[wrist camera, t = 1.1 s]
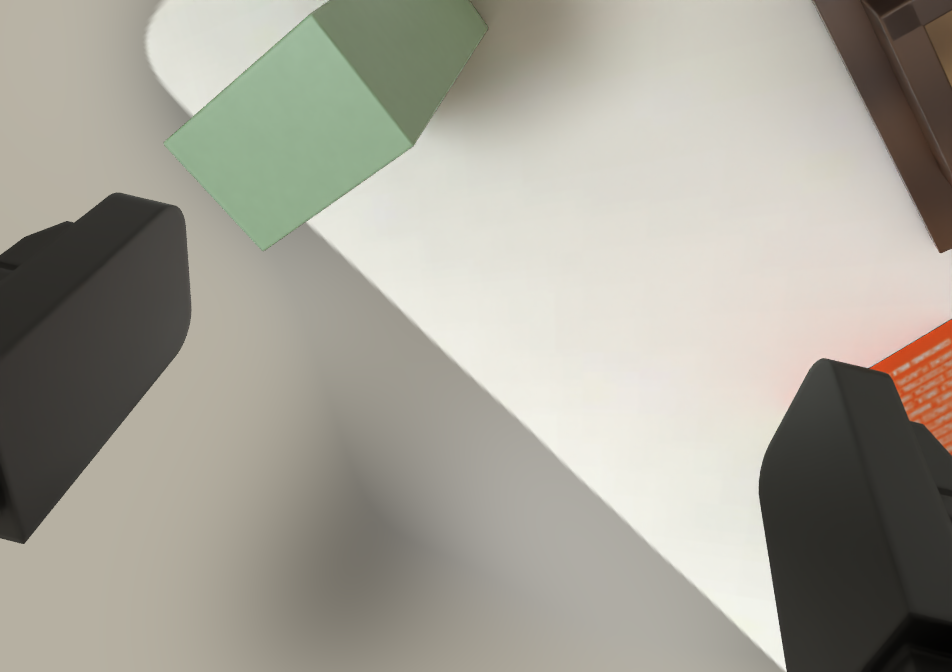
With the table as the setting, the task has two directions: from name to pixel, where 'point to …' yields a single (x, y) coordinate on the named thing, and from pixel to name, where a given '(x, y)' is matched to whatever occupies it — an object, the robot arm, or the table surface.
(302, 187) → the green block
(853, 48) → the slot tray
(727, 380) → the table surface
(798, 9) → the table surface
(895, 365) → the pasta box
